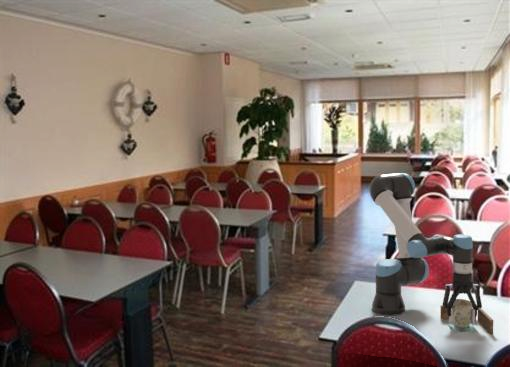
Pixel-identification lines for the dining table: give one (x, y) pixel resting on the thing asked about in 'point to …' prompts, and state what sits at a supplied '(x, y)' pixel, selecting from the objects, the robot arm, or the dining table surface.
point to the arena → (482, 319)
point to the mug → (461, 313)
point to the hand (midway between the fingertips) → (461, 323)
